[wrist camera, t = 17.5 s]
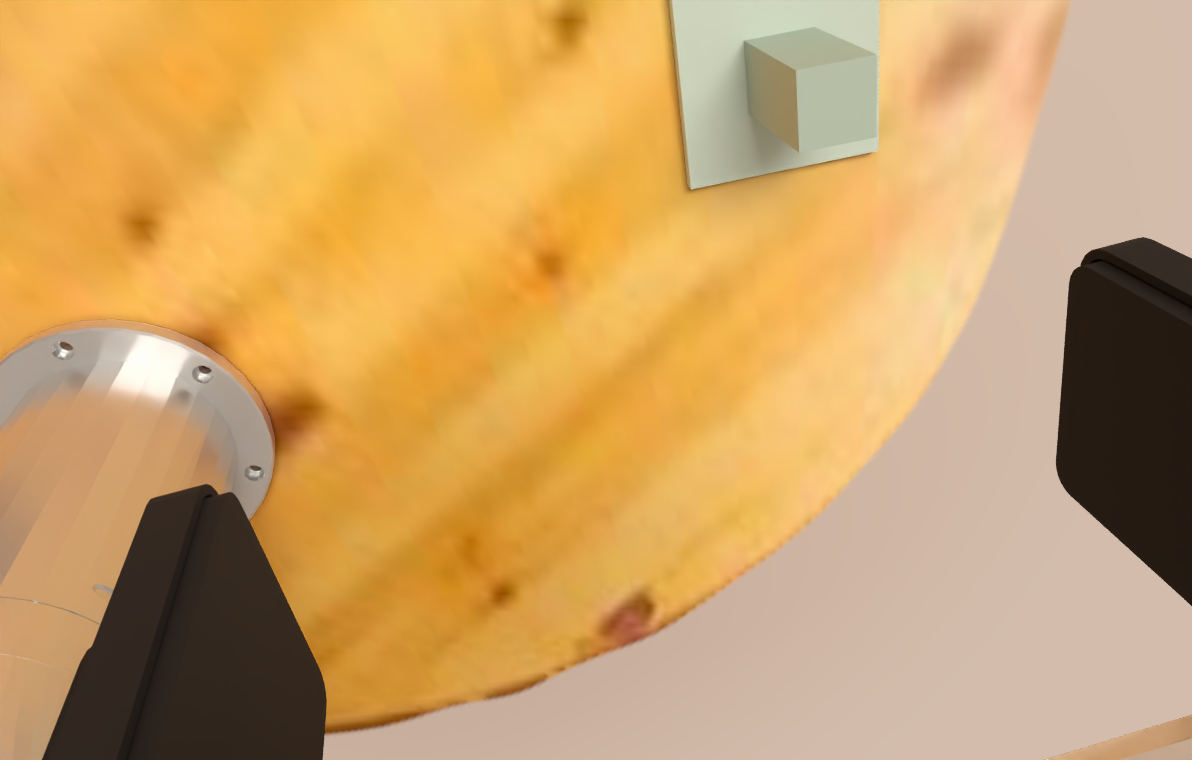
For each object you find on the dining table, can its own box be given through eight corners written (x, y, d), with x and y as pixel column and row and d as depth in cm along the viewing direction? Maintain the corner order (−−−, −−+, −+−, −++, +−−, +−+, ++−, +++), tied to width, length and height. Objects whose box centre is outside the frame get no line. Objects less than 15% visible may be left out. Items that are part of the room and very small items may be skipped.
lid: (868, 144, 42) (944, 193, 36) (685, 182, 42) (731, 238, 36) (869, -206, 36) (962, -216, 30) (649, -167, 35) (699, -169, 29)
